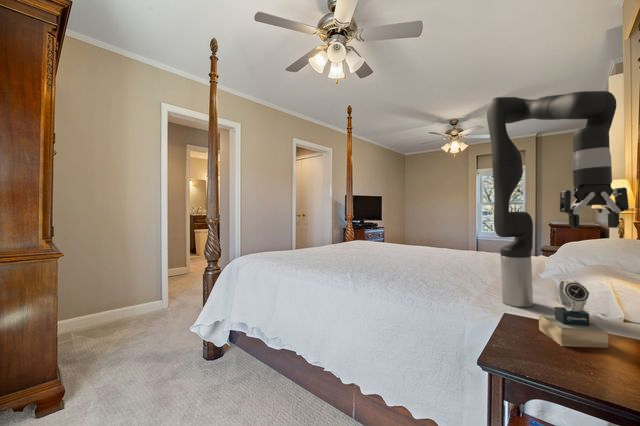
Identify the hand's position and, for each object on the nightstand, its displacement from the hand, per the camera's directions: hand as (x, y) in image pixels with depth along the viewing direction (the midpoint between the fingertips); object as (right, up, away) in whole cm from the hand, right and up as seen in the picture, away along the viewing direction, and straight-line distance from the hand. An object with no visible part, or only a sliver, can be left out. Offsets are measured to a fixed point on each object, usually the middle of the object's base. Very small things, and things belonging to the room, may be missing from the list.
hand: (593, 228), depth 77 cm
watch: (-7, -25, -1) cm, 26 cm away
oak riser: (-7, -29, -1) cm, 30 cm away
